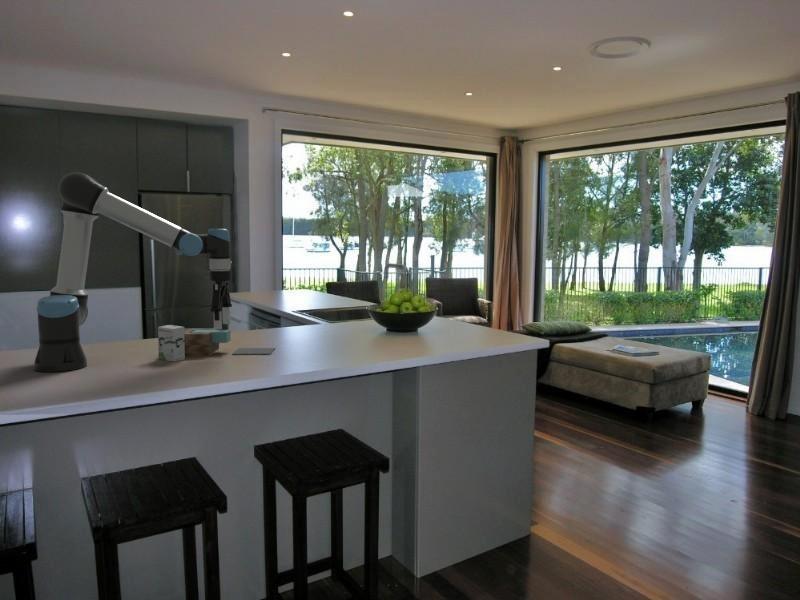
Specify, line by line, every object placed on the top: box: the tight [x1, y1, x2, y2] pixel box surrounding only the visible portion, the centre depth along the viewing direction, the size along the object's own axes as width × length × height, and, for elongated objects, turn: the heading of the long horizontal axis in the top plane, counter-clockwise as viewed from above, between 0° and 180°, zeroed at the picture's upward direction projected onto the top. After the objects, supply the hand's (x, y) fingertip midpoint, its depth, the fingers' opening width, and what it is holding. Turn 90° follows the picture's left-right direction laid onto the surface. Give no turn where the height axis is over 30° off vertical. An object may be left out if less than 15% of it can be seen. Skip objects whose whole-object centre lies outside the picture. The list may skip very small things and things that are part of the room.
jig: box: [184, 327, 220, 357], centre depth 226 cm, size 16×15×8 cm
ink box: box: [157, 324, 186, 362], centre depth 212 cm, size 9×5×12 cm, turn 60°
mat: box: [231, 347, 276, 356], centre depth 228 cm, size 14×12×1 cm
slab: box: [191, 329, 231, 344], centre depth 227 cm, size 13×6×4 cm, turn 93°
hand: (222, 326), depth 227 cm, fingers open, 13 cm apart
